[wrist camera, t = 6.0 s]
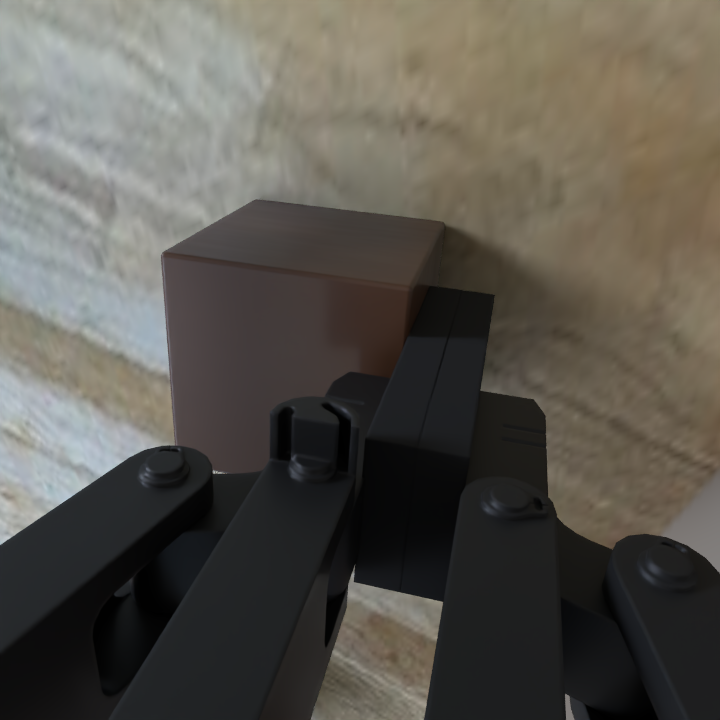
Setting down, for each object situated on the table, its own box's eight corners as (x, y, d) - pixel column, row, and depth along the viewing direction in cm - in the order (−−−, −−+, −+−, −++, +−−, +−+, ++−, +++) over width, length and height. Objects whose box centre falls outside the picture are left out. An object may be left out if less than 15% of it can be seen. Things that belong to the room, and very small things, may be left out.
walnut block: (446, 220, 16) (412, 287, 12) (424, 397, 19) (390, 508, 14) (253, 198, 17) (158, 252, 13) (255, 368, 20) (175, 464, 15)
